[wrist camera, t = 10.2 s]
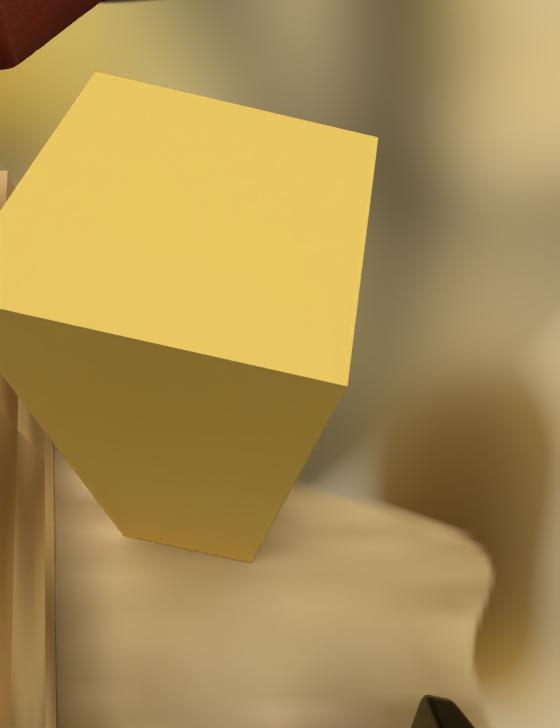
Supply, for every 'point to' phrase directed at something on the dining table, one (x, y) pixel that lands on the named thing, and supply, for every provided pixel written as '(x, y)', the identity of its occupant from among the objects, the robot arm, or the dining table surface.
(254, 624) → the dining table surface
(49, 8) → the plant pot
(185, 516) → the yellow block
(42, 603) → the tan flat piece
